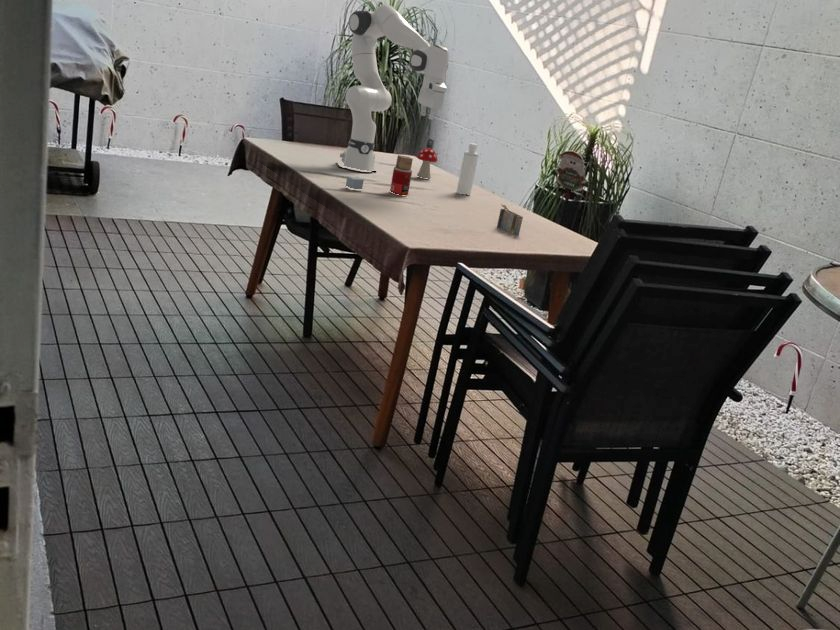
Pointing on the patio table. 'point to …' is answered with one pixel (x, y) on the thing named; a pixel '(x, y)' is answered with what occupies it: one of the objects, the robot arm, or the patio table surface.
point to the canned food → (400, 181)
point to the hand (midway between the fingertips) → (426, 117)
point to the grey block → (354, 182)
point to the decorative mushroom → (426, 162)
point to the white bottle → (468, 170)
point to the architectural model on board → (509, 221)
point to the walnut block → (404, 162)
